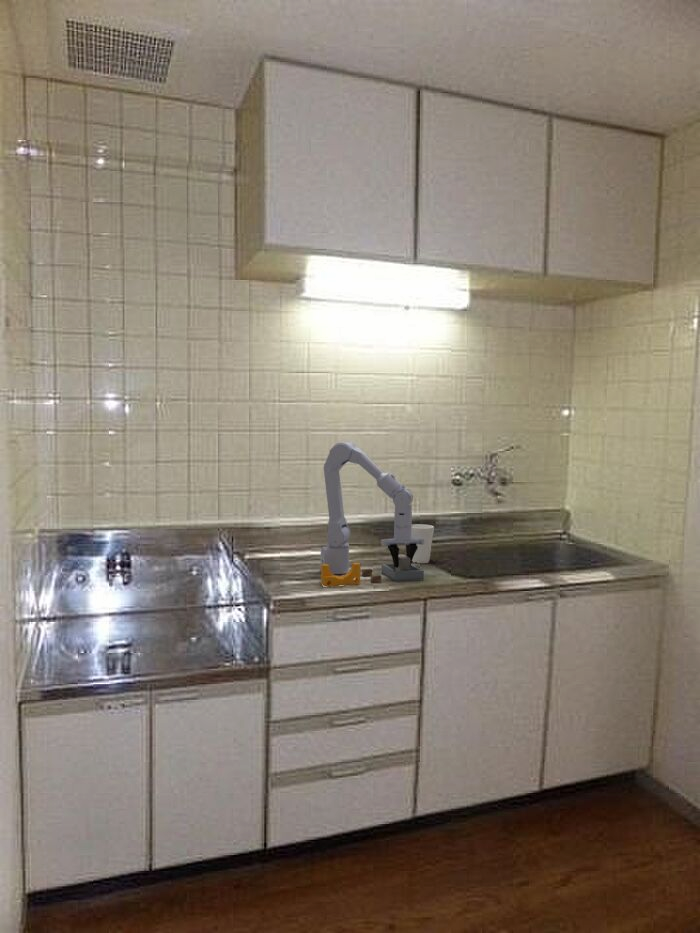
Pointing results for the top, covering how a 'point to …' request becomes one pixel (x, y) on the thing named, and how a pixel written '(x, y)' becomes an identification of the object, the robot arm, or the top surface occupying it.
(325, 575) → the pipe clamp
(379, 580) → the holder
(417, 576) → the parts tray
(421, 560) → the foam cup
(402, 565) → the grey block
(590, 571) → the top surface
